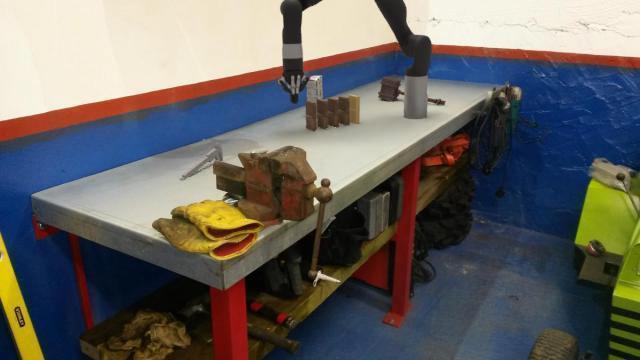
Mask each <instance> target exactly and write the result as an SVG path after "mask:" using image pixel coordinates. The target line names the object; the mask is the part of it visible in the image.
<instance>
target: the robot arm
mask: <svg viewBox="0 0 640 360" xmlns="http://www.w3.org/2000/svg"><path fill="white" fill-rule="evenodd" d="M322 1H323V0H282V2H281V3H280V6H279V11H280V13H281V16H282V23H283V25H282V26H283V27H282V32H281V40H282V46H281V57H282V74H281V78H279V79H276V82H277V84H278V85H279V86H280V87H281V89H282V90H283V91H284V92H285V93H288V94H289V102H290V103H291V104H292V105H295V104H298V103H299V93H300V92H303V91H304V89H306V84H307V83H308V81H309V79H310V76H309V77H308V76H306V75H305V72H304V49H303V39H302V38H303V36H302V24H303V12H305V10H307V9H309V8H312V7H314V6H317V5H318V4H320V3H321V2H322ZM373 1H374V3H375V4H376V6H377V9H378V11H380V13H381V15H382V16H383V18H384V20H385V21H386V23H387V24H388V26H389V28H390V29H391V31H392V33H393V34H394V37H395V39H396V41H397V43H398V45H399V47H400V50H401V52H402V53H403V54H404V56H406V57H407V58H410V59H413V62H412V65H410V66H408V67H406V68H405V70H404V89H403V90H404V91H403V92H404V95H403V117H404V118H407V119H414V120H415V119H423V118H427V117H428V103H429V102H428V98H429V95H428V76H429V70H430V66H431V59H432V51H433V48H432V47H433V45H432V41H431V38H430V37H429V36H428V35H424V34H415V33H414V32H413V31H412V30H411V28H410V27H409V25H408V22H407V17H408V11H407V9H408V8H407V6H406V3H405V1H404V0H373Z"/></svg>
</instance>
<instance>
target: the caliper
mask: <svg viewBox="0 0 640 360" xmlns="http://www.w3.org/2000/svg"><path fill="white" fill-rule="evenodd" d="M214 160H215V161H216V160H220V161H223V160H224V154H223V148H222V146H221V145H220V143H219V142H216V144H214V148H213V149H211V150H210V151H209V152H208V153H206V154H205V156H204V157H203V158H202V159H201V160H199V161H198V162H197V163H195V164H194V165H193V166H192V167H190V168H189V169H188V170H187V171H185V172H184V173H183V174H182V175H181V177H180V178H179V180H180V181H184V180H186V178H187V179H188V177H189V178H190V177H191V176H192V175H194V174H195V173H196V172H197V171H199V170H200V169H202V167H203V166H205V165H207V163H212V162H213V161H214Z"/></svg>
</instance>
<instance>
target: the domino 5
mask: <svg viewBox="0 0 640 360" xmlns="http://www.w3.org/2000/svg"><path fill="white" fill-rule="evenodd" d="M348 98H350V123H352V124H354V123H355V125H358V124H360V123H361V122H360V118H361V117H360V116H361V115H360V111H361V110H360V108H361V101H360V100H361V96H360V95H355V94H353V93H352V94H348Z"/></svg>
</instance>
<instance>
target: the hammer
mask: <svg viewBox="0 0 640 360" xmlns="http://www.w3.org/2000/svg"><path fill="white" fill-rule="evenodd" d="M401 82H402V80H401V79H398V78H395V77H392V76H388V75H386V76H383V77H381V81H380V84H381V86H380V90H379V91H377V94H378V96H377V98H379V99H381V100H384V101H387V102H390V101H391V102H395V101H397V100H398V97H399V96H400V95H402V96H404V91H401V89H400V87H401V86H402V83H401ZM394 100H395V101H394ZM391 102H390V103H391ZM428 103H432V104H435V105H437V106H440V105H443V106H445V104H446V103H447V102H446V100H443V99H441V98H430V97H428Z"/></svg>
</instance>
